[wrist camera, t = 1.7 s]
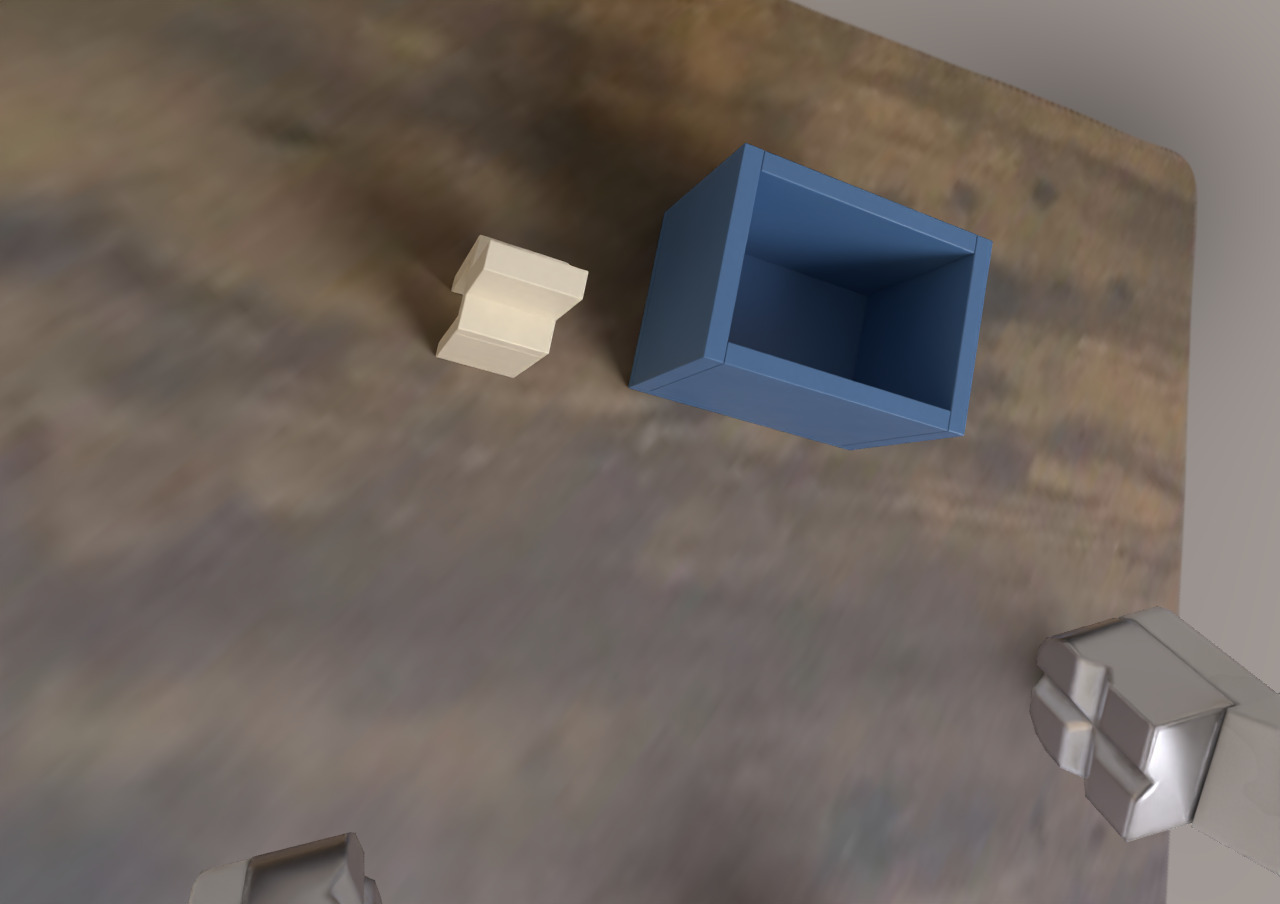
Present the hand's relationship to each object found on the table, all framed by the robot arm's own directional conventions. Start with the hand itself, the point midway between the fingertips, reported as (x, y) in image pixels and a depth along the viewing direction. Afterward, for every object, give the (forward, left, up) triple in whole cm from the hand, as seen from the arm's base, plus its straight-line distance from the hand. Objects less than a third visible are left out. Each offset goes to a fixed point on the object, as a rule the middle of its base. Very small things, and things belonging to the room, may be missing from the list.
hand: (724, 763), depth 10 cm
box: (+9, +21, -34) cm, 41 cm away
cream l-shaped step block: (-4, +12, -34) cm, 37 cm away
